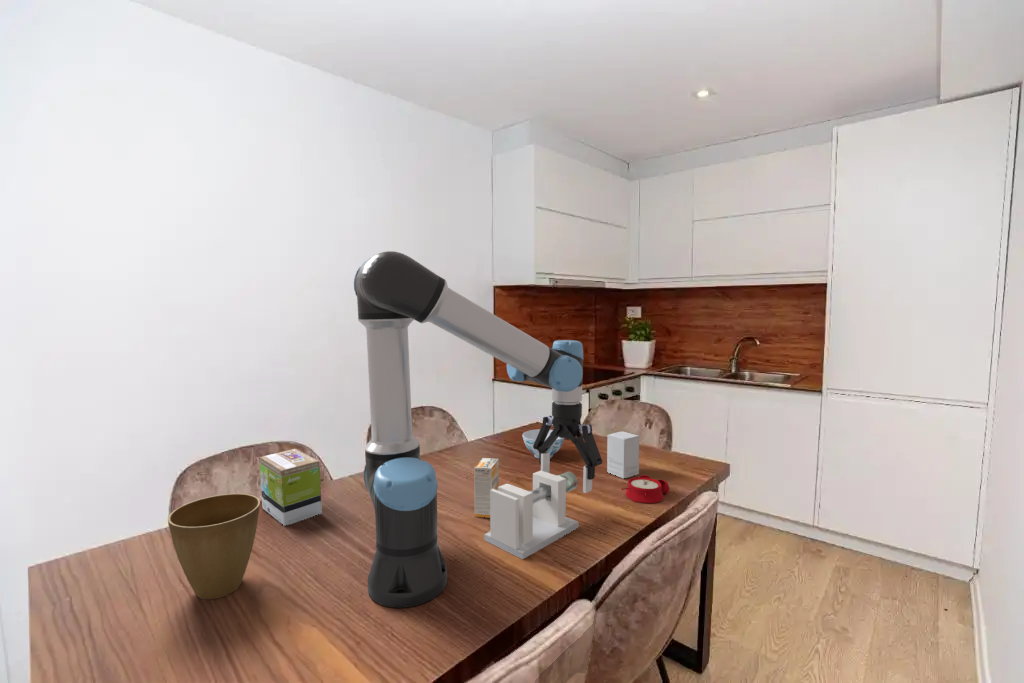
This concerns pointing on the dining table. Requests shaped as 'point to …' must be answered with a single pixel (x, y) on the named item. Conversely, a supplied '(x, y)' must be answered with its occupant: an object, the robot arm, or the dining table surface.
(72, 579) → the dining table surface
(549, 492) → the shaft
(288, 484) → the tea box
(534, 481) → the housing
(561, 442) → the chinaware
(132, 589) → the dining table surface
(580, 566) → the dining table surface
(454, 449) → the dining table surface
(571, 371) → the robot arm
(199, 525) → the plant pot
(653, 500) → the alarm clock
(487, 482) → the supplement box
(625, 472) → the supplement box
